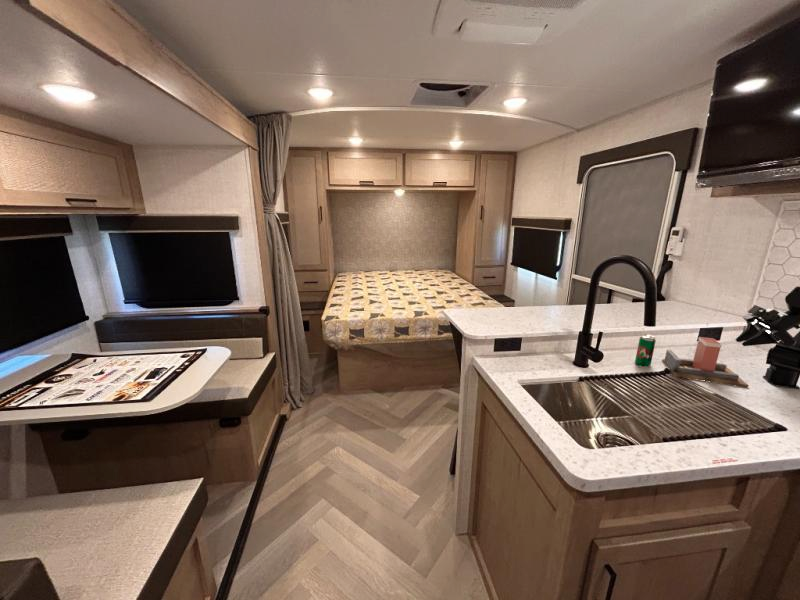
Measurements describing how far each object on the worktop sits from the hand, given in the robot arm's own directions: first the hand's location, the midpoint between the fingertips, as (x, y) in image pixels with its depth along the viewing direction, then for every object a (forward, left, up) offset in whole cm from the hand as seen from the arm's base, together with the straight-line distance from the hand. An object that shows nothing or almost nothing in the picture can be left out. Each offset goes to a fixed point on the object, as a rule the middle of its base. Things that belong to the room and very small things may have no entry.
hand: (739, 342), depth 111 cm
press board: (+8, 0, -14) cm, 16 cm away
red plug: (+8, 0, -12) cm, 15 cm away
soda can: (+26, -1, -14) cm, 30 cm away
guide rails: (+9, 0, -13) cm, 16 cm away
